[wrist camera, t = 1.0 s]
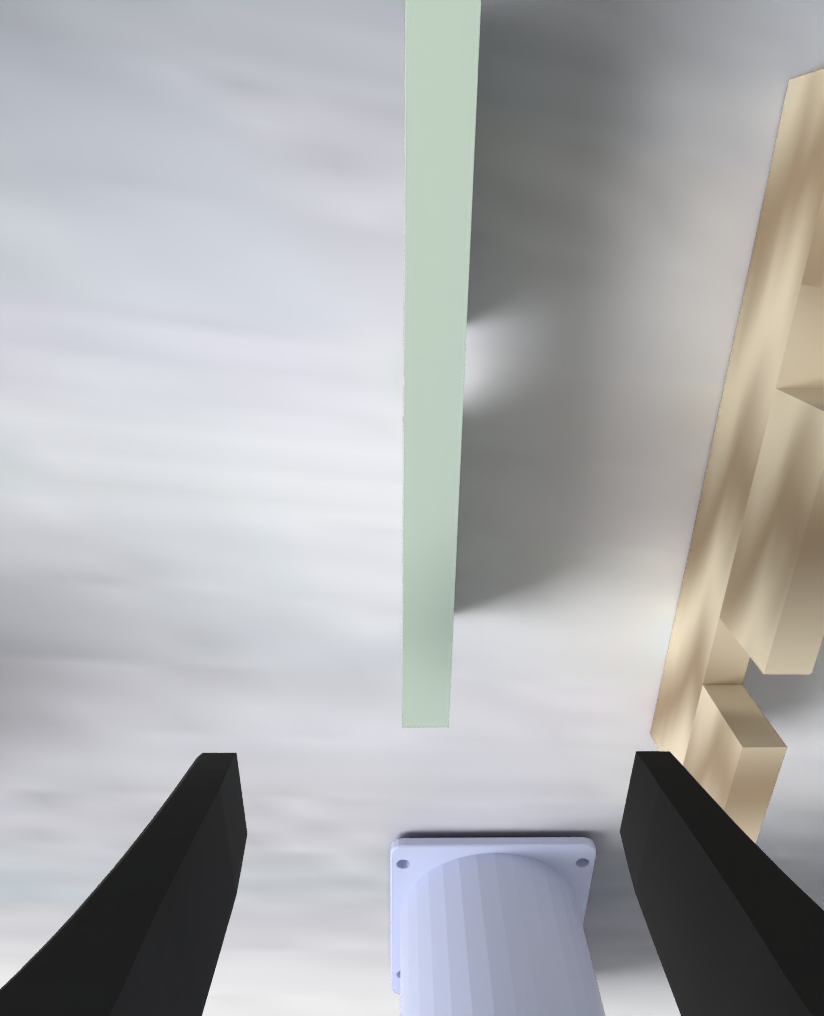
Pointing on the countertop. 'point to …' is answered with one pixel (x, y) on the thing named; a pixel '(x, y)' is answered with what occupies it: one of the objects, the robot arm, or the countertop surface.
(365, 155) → the countertop surface
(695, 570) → the maple slat
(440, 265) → the green plate
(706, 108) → the countertop surface
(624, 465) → the countertop surface
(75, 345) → the countertop surface
